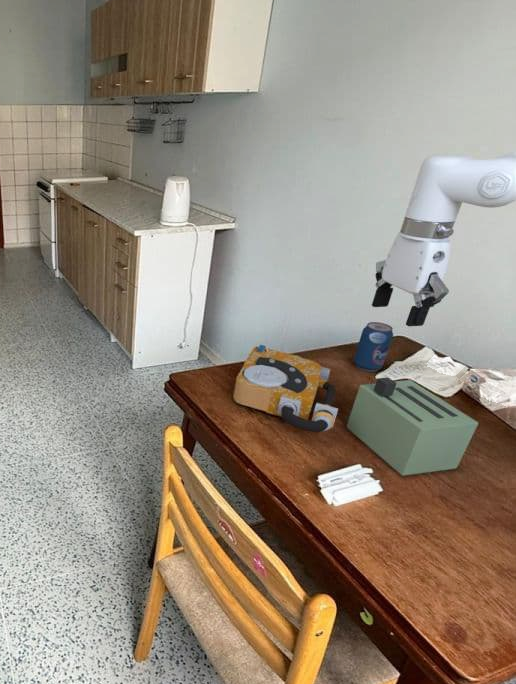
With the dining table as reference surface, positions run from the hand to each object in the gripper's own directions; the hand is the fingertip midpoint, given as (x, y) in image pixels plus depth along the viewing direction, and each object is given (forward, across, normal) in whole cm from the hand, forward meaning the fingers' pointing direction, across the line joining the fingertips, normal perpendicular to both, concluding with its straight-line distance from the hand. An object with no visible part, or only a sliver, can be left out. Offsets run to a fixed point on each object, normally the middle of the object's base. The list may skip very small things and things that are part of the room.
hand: (395, 315), depth 94 cm
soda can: (+26, +24, -19) cm, 40 cm away
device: (+26, +10, +13) cm, 31 cm away
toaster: (+26, -9, -3) cm, 28 cm away
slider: (+15, -5, +2) cm, 16 cm away
